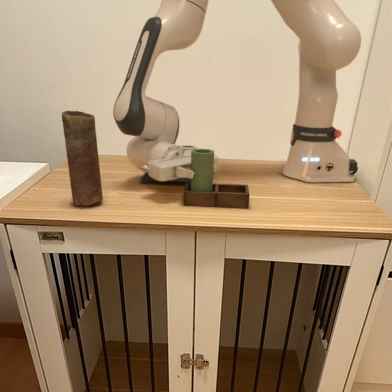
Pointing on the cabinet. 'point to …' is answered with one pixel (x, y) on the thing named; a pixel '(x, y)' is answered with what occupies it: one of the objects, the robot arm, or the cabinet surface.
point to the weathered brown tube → (82, 157)
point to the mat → (150, 180)
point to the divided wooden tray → (218, 196)
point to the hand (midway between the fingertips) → (204, 172)
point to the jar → (202, 169)
